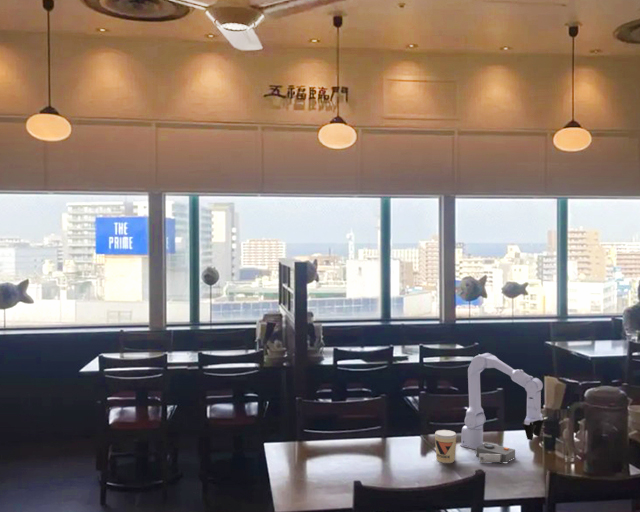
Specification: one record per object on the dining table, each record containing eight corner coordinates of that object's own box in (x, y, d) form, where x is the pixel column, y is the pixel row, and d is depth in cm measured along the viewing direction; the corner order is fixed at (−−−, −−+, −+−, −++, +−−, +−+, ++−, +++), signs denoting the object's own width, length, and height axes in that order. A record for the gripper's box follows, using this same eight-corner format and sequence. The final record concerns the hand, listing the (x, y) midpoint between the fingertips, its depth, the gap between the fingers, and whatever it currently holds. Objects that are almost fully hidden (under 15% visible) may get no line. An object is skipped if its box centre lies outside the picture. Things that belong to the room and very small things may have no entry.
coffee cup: (431, 461, 275) (432, 434, 274) (438, 455, 283) (438, 428, 283) (452, 465, 270) (453, 437, 270) (458, 458, 279) (459, 431, 278)
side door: (479, 462, 273) (479, 454, 273) (479, 461, 274) (479, 453, 274) (502, 463, 272) (502, 455, 271) (501, 462, 273) (501, 453, 273)
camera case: (476, 456, 281) (476, 446, 281) (485, 451, 288) (485, 441, 288) (505, 463, 272) (506, 453, 272) (515, 458, 279) (515, 448, 279)
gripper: (535, 411, 268) (535, 443, 268) (549, 405, 278) (549, 435, 279) (519, 408, 272) (519, 440, 273) (533, 402, 283) (533, 432, 283)
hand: (533, 437), depth 276 cm, fingers open, 7 cm apart
